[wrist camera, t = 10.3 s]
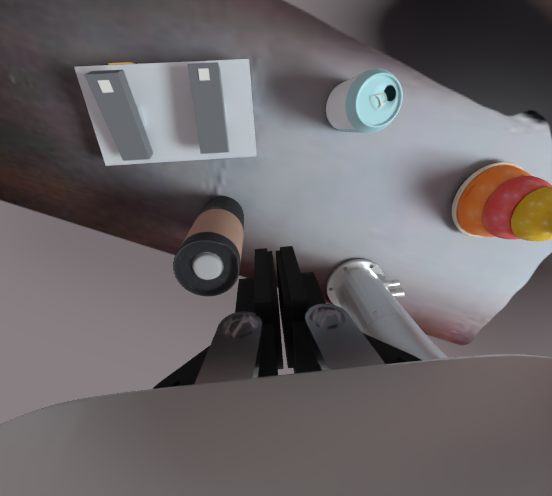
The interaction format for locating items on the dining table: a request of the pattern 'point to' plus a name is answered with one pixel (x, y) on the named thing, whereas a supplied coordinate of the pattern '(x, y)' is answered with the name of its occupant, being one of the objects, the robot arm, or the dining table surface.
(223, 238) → the travel mug
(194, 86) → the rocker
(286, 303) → the robot arm
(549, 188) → the stacking toy
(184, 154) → the switch housing
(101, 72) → the block
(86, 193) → the dining table surface
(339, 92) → the can
